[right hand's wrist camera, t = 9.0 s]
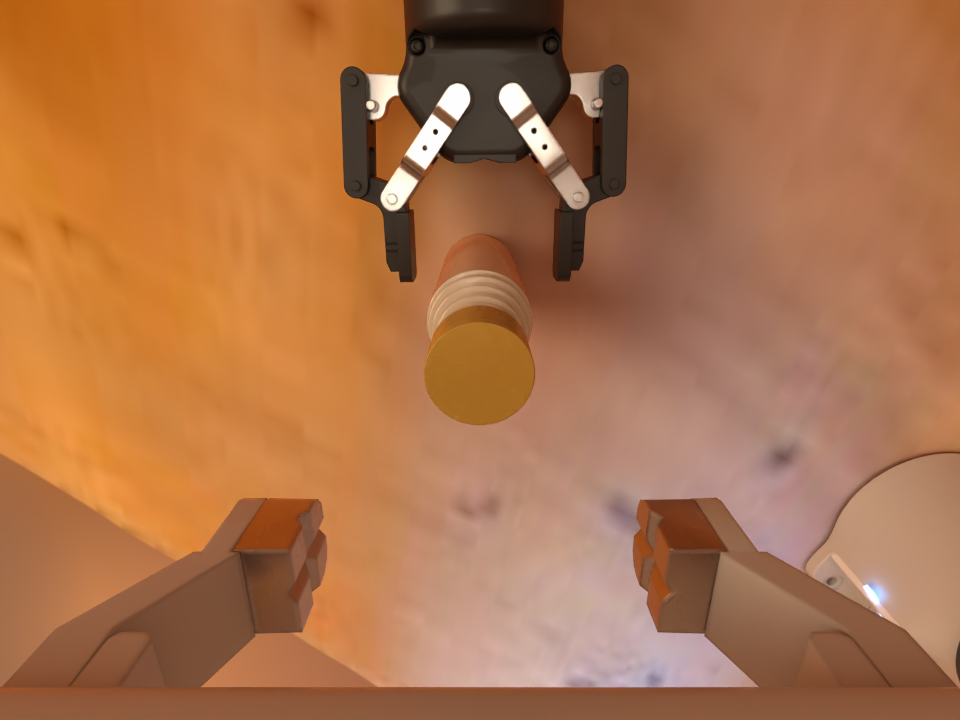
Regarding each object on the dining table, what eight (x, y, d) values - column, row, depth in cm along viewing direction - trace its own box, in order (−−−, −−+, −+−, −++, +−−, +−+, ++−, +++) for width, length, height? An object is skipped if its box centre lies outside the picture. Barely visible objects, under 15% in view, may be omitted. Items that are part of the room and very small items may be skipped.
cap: (533, 306, 20) (539, 324, 18) (525, 400, 21) (530, 427, 19) (430, 302, 20) (424, 319, 17) (429, 396, 21) (423, 423, 19)
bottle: (517, 236, 35) (554, 306, 18) (513, 307, 37) (542, 435, 19) (444, 232, 35) (409, 301, 18) (443, 304, 37) (410, 430, 19)
